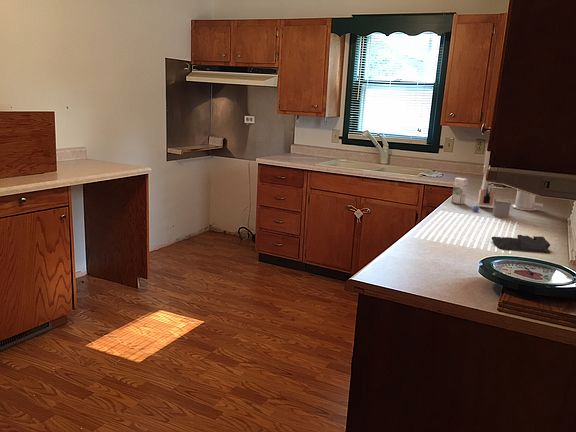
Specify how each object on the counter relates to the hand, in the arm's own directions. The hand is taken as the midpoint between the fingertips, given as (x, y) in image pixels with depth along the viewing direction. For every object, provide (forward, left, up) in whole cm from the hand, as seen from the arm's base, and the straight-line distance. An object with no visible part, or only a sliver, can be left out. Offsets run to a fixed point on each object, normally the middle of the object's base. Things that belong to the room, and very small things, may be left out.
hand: (485, 201), depth 280 cm
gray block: (-6, +18, -3) cm, 19 cm away
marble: (+6, +14, -3) cm, 16 cm away
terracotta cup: (0, 0, -1) cm, 1 cm away
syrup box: (+14, -4, -4) cm, 15 cm away
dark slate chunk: (-6, +76, -4) cm, 77 cm away
